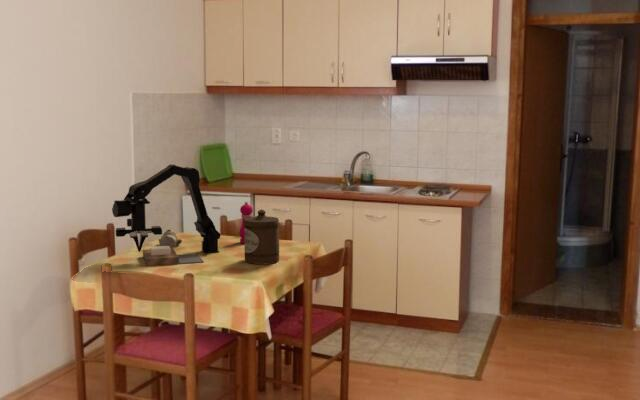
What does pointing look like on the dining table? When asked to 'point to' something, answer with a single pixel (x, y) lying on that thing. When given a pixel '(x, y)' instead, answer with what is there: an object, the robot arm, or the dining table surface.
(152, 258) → the deck
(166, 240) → the ceramic sculpture
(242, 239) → the pepper mill
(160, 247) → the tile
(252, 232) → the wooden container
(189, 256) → the mat
